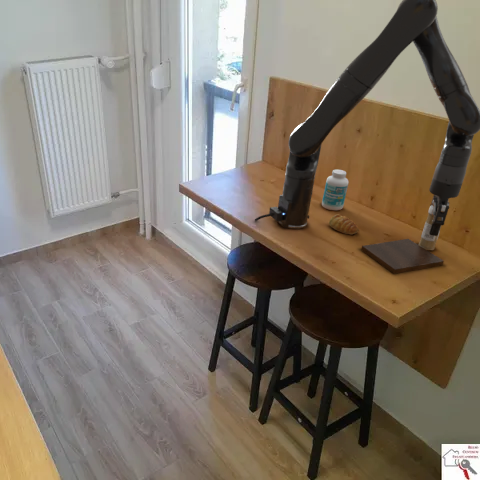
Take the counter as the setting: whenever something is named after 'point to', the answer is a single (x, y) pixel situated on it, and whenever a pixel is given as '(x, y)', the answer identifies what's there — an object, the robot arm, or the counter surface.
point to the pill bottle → (335, 190)
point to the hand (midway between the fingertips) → (432, 229)
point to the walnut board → (402, 256)
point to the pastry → (343, 224)
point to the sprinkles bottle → (427, 239)
